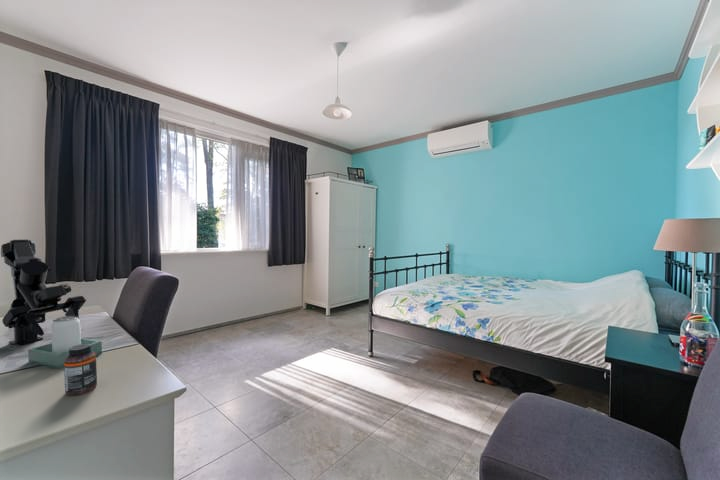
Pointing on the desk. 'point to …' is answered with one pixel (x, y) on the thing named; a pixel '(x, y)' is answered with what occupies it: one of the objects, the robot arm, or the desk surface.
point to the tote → (53, 360)
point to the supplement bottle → (80, 370)
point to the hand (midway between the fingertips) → (61, 329)
